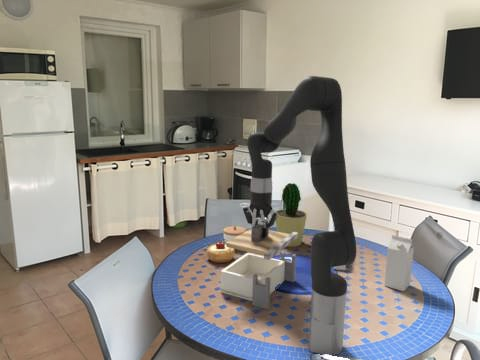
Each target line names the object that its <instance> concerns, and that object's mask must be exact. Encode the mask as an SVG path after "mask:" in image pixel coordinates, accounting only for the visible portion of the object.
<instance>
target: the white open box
mask: <svg viewBox="0 0 480 360" xmlns="http://www.w3.org/2000/svg"><path fill="white" fill-rule="evenodd" d="M285 255H286V252H285V251H280V259H277V258H274V257H272V258H271V259H270V260H266V259H264V256H263V255H259V254H255V253H251V252H247V253H245V254H244V255H242V256H240V257H239V258H238V259H236V260H235V261H233V262H232V263H230V264H229V265H228V266H226V267H225V268H223V269H222V270H220V293H222V294H225V295H226V294H227V295H228V296H232V297H237V298H241V299H244V300H246V301H251V303H252V304H251V306H255V307H258V308H261V309H266V310H268V309H270V307H271V305H270V303H271V301H270V300H271V299H270V298H271V295H272V293H273V292H275V290H276V289H275V287H276V285H278V284H280V285H282V284H283V282H285V281H288V282H290V283H295V281H296V268H297V267H296V266H297V254H296V253H294V254H292V255H291V260H288V259H285Z"/></svg>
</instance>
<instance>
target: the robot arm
mask: <svg viewBox="0 0 480 360" xmlns="http://www.w3.org/2000/svg"><path fill="white" fill-rule="evenodd" d="M306 111H311V112H312V111H313V112H320V118H321V129H320V135H319V137H318V139H317V141H316V144H315V146H314V147H313V150H312V153H311V156H310V159H309V161H310V166H309V167H310V174H311V183H312V186H313V188H314V191H316V193H317V194H318V196H319V197H320V198H321V200H322V201H323V203H324V204H325V206H326V207H327V209H328V211H329V212H330V214H331V218H332V223H333V229H334V230H333V231H323V232H317V233H315V234H314V235H313V237H312V239H311V245H310V275H311V298H310V299H311V300H310V301H311V302H310V318H309V336H308V345H309V352H312V353H315V354H318V353H319V355H321V354H329V355H334V356H337V355H339V354H341V353H342V351H343V348H344V334H345V333H344V332H345V319H346V304H347V294H348V293H347V291H348V282H347V280H346V278H345V277H344V276H342V275H340V274H337V273H335V272H332V268H334V267H335V266H343V265H346V266H348V265H351V264H353V263H354V262H355V260H356V258H357V243H356V234H355V231H354V230H355V229H354V226H353V220H352V215H351V214H352V213H351V210H350V209H351V208H350V200H349V191H348V182H347V181H348V180H347V169H346V168H347V167H346V158H345V154H344V153H345V152H344V151H345V150H344V149H345V148H344V139H343V137H344V136H343V95H342V89H341V85H340V83H339V81H338V80H337V79H335V78H332V77H325V76H319V75H309V76H306V77H305V78H303V79H302V80H301V81H300V82H299V83H298V84H297V86H296V87H295V88H294V90H293V92H292V94H291V95H290V96H289V98H288V99H287V101H286V102H285V104H284V105H283V106H282V108H281V110H280V111H279V112H278V113H277V114H276V115H275V116H274V117H273V118H272V119H271V120H269V122H268V123H267V124H266V125H265V126H264V129H263V131H260V132H258V131H256V132H251V133H250V134H249V136H248V137H247V140H246V141H247V143H246V145H247V146H246V147H247V149H248V153H249V157H250V163H251V178H250V179H251V180H250V194H249V195H250V197H249V199H250V200H249V201H250V204H249V206H245V207H244V208H242V211H243V214H244V216H245V220H246V222H247V223H248V224H249V225H251V226H252V227H254V226H255V225H257V224H259V221H261V222H262V225H263V228H262V238H265V237H266V236H267V235H268V227H269V229H270V228H272V226H274V224H276V219H277V217H278V215H279V212H275V210H274V209H273V206H272V202H273V163H272V161H271V160H269V159H266V158H263V156H262V154H263V153H264V154H265V153H272V152H275V151H276V150H278V148H279V147H280V145H281V143H282V141H283V140H284V139H285V138H286V137H288V136H289V135H290V134H291V133H292V132H293V130H294V129H295V128H296V124H297V118H298V116H299V115H300V114H302V113H304V112H306ZM269 215H270V216H271V217H269ZM269 218H270V220H269ZM252 227H251V228H252Z"/></svg>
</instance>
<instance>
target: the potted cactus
mask: <svg viewBox="0 0 480 360" xmlns="http://www.w3.org/2000/svg"><path fill="white" fill-rule="evenodd" d="M280 193H281V195H280V197H281V201H282V203H284V208H282V209H277V210H276V211H275V210H274V211H275V212H279V215H278V217H277V219H276V221H275V228H276V232H281V233H286V234H291V233H293V232H297V233H298V238H296V239H295V240H294V241H293V242H291V243H290V244H289V245H288V246H287V247H289V248H290V247H292V248H293V247H298V246H300V245H302V241H303V237H304V231H305V226H306V222H307V216H308V213H307V212H305V211H304V210H300V209H299V207H300V201H302V196H303V195H301V190H300V187H299V186H298V184H296V183H294V182H293V183H291V182H290V183H286V185H284V187H283V189H282V192H280Z"/></svg>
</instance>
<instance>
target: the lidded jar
mask: <svg viewBox="0 0 480 360" xmlns="http://www.w3.org/2000/svg"><path fill="white" fill-rule="evenodd" d="M246 231H247V229H246V228H245V227H243V226H236V225H234V226H232V225H231V226H227V227H225V228H223V239H226V240H227V241H228V242H229V241H230V240H232V239H234V238H235V237H237V236H239V235H241V234H242V233H244V232H246ZM226 240H224V242H225V244H226V243H227V241H226Z"/></svg>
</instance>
